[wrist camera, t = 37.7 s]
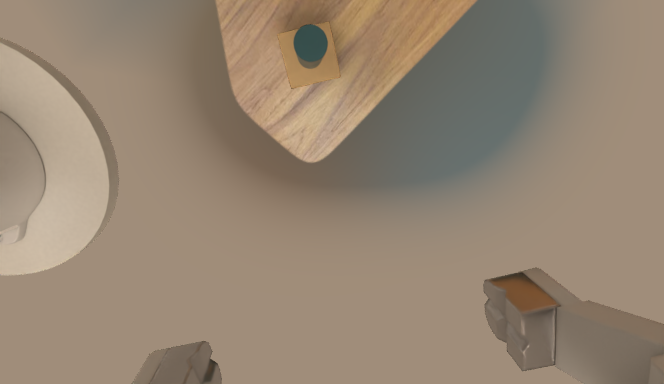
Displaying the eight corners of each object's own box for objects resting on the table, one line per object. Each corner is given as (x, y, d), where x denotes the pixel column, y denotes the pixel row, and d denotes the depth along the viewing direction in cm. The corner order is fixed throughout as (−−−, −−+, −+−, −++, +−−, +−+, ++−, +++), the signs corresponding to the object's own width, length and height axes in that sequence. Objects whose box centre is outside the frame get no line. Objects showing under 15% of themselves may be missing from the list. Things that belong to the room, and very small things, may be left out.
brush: (292, 88, 37) (284, 90, 24) (280, 39, 35) (263, 11, 22) (337, 77, 37) (354, 73, 23) (327, 28, 35) (339, -8, 22)
